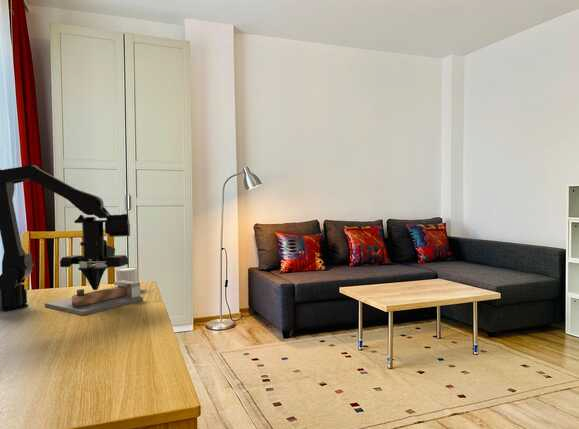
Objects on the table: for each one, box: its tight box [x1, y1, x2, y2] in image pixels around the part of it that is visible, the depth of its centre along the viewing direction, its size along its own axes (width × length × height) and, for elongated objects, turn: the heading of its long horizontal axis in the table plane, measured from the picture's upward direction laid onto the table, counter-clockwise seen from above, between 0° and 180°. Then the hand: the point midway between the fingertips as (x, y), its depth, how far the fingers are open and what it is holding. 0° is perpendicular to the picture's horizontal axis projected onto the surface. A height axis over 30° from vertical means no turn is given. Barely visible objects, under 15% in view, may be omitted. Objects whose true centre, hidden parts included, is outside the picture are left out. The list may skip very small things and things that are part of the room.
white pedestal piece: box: [115, 267, 138, 282], centre depth 147 cm, size 7×7×7 cm
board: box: [44, 295, 144, 316], centre depth 129 cm, size 19×19×1 cm
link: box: [71, 285, 128, 307], centre depth 128 cm, size 18×4×4 cm, turn 148°
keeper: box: [113, 280, 141, 298], centre depth 133 cm, size 3×8×4 cm, turn 56°
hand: (95, 289), depth 132 cm, fingers closed
